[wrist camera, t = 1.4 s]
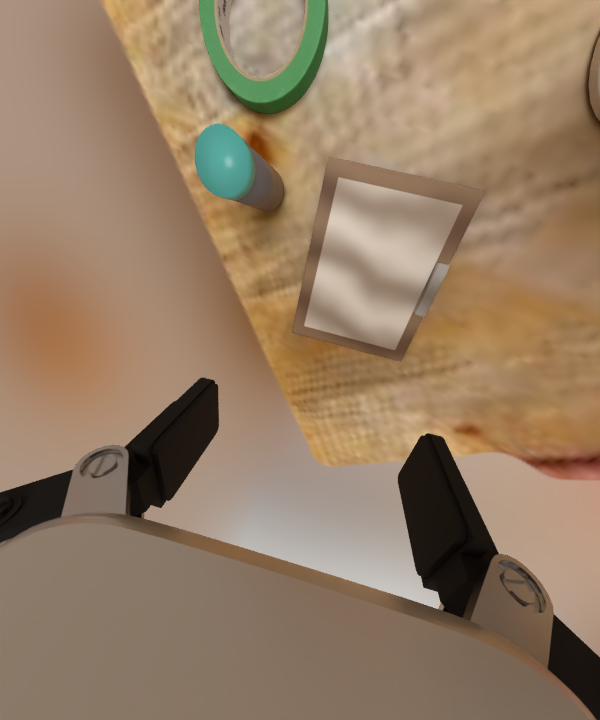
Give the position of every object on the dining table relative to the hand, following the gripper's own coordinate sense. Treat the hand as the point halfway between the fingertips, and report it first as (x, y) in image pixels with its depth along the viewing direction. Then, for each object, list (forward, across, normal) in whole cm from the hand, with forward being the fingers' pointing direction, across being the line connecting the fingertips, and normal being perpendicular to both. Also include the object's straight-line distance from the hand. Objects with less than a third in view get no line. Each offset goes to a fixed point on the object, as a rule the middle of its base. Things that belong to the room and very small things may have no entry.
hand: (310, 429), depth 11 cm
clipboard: (+24, -3, -4) cm, 25 cm away
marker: (+24, +10, -11) cm, 28 cm away
